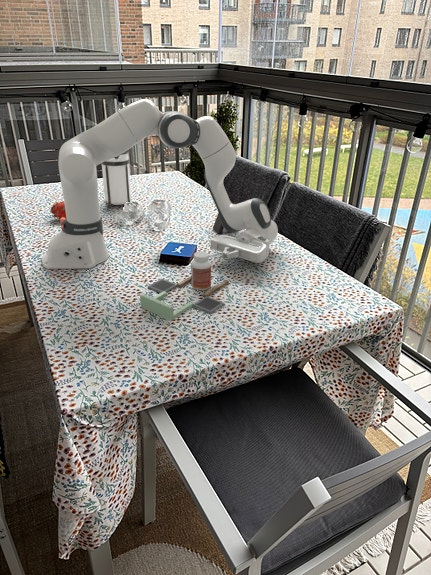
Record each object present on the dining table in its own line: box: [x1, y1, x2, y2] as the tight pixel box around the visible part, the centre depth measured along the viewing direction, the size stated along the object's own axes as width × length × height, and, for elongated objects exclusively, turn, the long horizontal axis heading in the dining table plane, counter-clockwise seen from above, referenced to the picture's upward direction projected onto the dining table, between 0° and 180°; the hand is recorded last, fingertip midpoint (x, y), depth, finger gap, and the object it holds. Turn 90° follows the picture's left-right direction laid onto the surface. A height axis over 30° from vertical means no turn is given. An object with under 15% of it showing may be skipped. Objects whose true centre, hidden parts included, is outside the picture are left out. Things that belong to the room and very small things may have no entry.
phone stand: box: [212, 211, 232, 235], centre depth 181 cm, size 9×6×12 cm, turn 112°
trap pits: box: [147, 278, 225, 315], centre depth 135 cm, size 7×25×1 cm, turn 54°
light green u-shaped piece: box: [139, 291, 194, 321], centre depth 128 cm, size 10×11×4 cm
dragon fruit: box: [49, 200, 67, 221], centre depth 189 cm, size 8×8×12 cm
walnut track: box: [176, 276, 230, 298], centre depth 141 cm, size 12×11×1 cm
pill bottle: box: [190, 251, 212, 291], centre depth 138 cm, size 6×6×11 cm
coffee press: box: [100, 149, 132, 209], centre depth 204 cm, size 17×16×30 cm
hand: (225, 255), depth 147 cm, fingers closed
